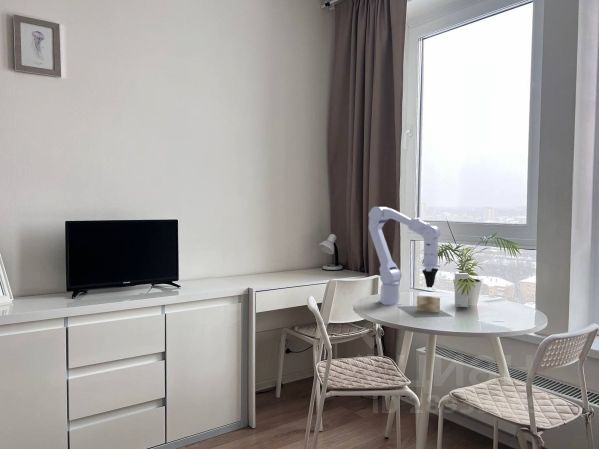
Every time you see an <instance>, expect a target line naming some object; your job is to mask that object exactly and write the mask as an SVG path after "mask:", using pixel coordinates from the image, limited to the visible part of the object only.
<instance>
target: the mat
mask: <svg viewBox="0 0 599 449" xmlns="http://www.w3.org/2000/svg"><path fill="white" fill-rule="evenodd" d="M396 307H397V308H398V309H400V310H401V311H403V312H404V313H407V314H408V315H409V316H411V317H413V318H442V317H443V318H444V317H445V318H446V317H453V315H451V314H450V313H447V312H445V311H444V310H442V309H440V312H428V311H417V305H408V306H407V305H406V306H405V305H402V306H401V305H399V306H396Z"/></svg>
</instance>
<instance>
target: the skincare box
mask: <svg viewBox="0 0 599 449" xmlns="http://www.w3.org/2000/svg"><path fill="white" fill-rule="evenodd" d="M459 272H460V271H455V273H454V307H458V308H459V307H461V308H469V306H470V305H469V306H468V296H467V297H465V296H463V295H461V294H460V293H459V292H458V291H457V289H458V288H457V285H455V284H456V281H457V280H459V279H468V277H469V278H470V273H469V274H468V273H459ZM456 288H457V289H456ZM455 289H456V291H455Z"/></svg>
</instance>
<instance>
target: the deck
mask: <svg viewBox="0 0 599 449" xmlns="http://www.w3.org/2000/svg"><path fill="white" fill-rule="evenodd" d="M440 305H441V297H440V296H429V295H417V296H416V306H417V311H428V312H440V310H441V309H440V308H441V306H440Z"/></svg>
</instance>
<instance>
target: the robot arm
mask: <svg viewBox="0 0 599 449" xmlns="http://www.w3.org/2000/svg"><path fill="white" fill-rule="evenodd" d="M368 218H369V219H368V230H369V234H370V237H371V240H372V242H373V245H374V248H375V252H376V255H377V257H378V260H379V264H380V266H379V273H380V274H379V277H380V278H379V280H380V281H381V282H382V284H381V286H380V299H378V302H379V303H380V304H382V305H385V306H388V305H389V306H390V305H391V306H394V305H399V306H401V305H402V303H401V302H400V300H399V299H400V281H401V279H402V272H401V270H400V269H399V268H398V266H397V264H396V262H394V261H393V259H392V256H391V253H390V250H389V247H388V244H387V241H386V239H385V236H384V232H383V227H384V225H385V223H386V222H388V221H389V220H390V219H391V220H394V221H396V222H399V223H401V224H403V225H406V226H407V229H408V230H409V231H411V232H414V233H416V234H417V235H419V236H421V237H422V238H423V265H422V266H423V267H424V269H422V270H421V271H422V274H423V276H424V280H425V284H426V288H433V286H434V284H435V281H436V276H437V273H438V271H439V268H440V267H441V264H439V263H438V260H439V259H438V255H439V237H440V235H441V230H440V229H439V227H437V225H431V223H430V222H425V221H423V220H421V218H420V217H413V218H410V217H408V216H407V215H405V214H403V213H401V212H399V211H398V210H395V209H393V208H391V207H388V206H373V207H372V208H371V209H370V211H369V213H368Z"/></svg>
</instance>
